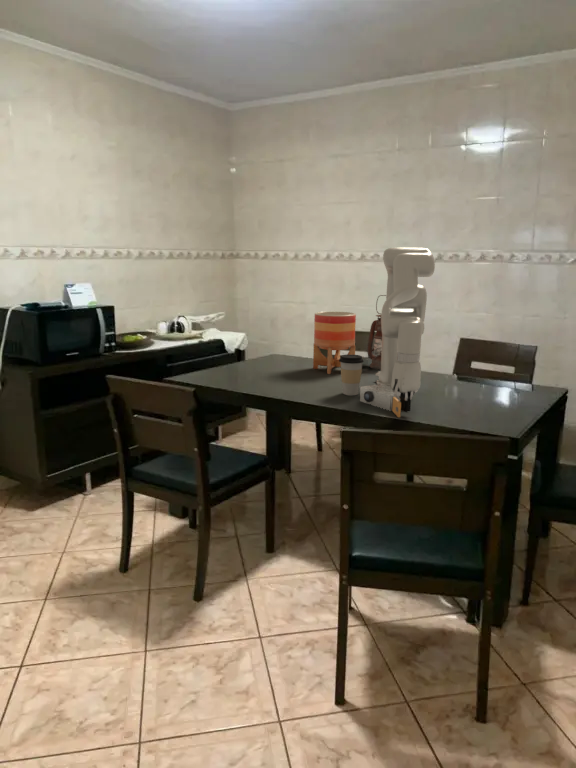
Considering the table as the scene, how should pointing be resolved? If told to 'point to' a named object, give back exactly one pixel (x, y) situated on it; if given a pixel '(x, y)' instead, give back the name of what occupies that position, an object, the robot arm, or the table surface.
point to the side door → (396, 406)
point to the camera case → (378, 396)
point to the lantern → (375, 327)
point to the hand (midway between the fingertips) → (405, 410)
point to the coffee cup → (351, 373)
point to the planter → (333, 337)
